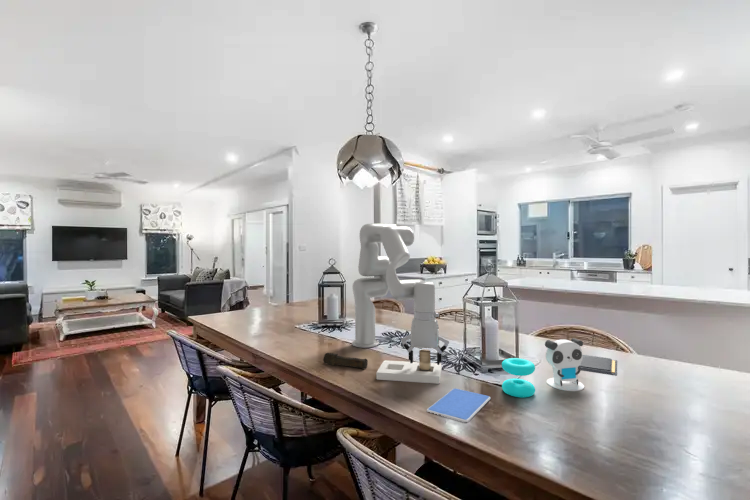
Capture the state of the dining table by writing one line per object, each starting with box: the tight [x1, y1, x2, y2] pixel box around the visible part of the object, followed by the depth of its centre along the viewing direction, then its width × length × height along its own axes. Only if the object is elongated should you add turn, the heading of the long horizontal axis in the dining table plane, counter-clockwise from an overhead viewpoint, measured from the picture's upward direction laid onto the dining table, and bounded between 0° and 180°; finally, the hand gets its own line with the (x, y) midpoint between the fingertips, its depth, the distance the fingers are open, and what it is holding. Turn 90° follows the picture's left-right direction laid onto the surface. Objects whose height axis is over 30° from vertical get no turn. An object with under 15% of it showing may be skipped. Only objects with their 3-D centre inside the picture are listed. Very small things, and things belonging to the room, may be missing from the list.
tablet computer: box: [426, 387, 492, 423], centre depth 113 cm, size 19×13×1 cm, turn 144°
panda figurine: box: [544, 337, 585, 392], centre depth 128 cm, size 12×11×15 cm
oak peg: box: [418, 348, 432, 372], centre depth 138 cm, size 4×4×9 cm
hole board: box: [376, 360, 442, 385], centre depth 139 cm, size 14×22×2 cm, turn 77°
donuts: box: [501, 357, 536, 399], centre depth 122 cm, size 10×10×10 cm
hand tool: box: [322, 352, 369, 371], centre depth 150 cm, size 19×4×5 cm, turn 65°
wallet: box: [578, 354, 618, 377], centre depth 148 cm, size 20×2×15 cm
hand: (425, 362), depth 138 cm, fingers open, 9 cm apart
